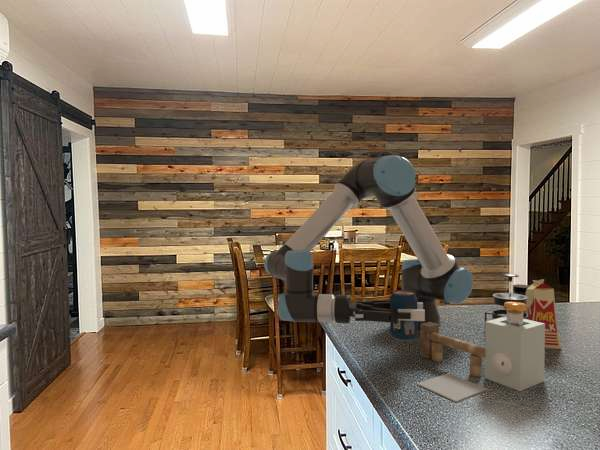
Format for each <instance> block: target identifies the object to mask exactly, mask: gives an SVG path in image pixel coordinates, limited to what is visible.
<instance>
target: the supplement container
mask: <svg viewBox="0 0 600 450" xmlns="http://www.w3.org/2000/svg"><path fill="white" fill-rule="evenodd" d="M530 286H531V285H528V284H519V283H518V284H513V285H512V293H514V294H521V295H526V290H527V288H529V287H530Z"/></svg>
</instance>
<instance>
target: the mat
mask: <svg viewBox="0 0 600 450" xmlns="http://www.w3.org/2000/svg"><path fill="white" fill-rule="evenodd" d="M416 384H417V386H420V387H421V388H424V389H426V390H428V391H431V392H433V393H435V394H438V395H440V396H442V397H443V398H445V399H448V400H450V401H453V402H454V403H458V402H461V401H464V400H466V399H469V398H471V397H473V396H476V395H478V394H481V393H484V392H486V391H488V388H486V387H483V386H482V385H479V384H476V383H474V382H472V381H470V380H469V381H468V380H467V379H464V378H460V377H458V376H456V375H453V374H451V373H449V372H447V373H444V374H442V375H439V376H436V377H432V378H429V379H426V380H422V381H419V382H417V383H416Z"/></svg>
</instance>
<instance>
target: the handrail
mask: <svg viewBox="0 0 600 450" xmlns="http://www.w3.org/2000/svg"><path fill="white" fill-rule="evenodd" d="M439 328H440V325H439V324H436V323H433V322H427V323H423V324H421V328H420V338H419V339H420V345H419V346H420V347H419V348H420V349H419V351H420V357H424V358H426V359H428V360H429V359H431V361H434V362H436V363H439V362H443V353H444V352H443V350H444V349H443V345H444V346H446V347H450V348H453V349H456V350H459V351H462V352H463V353H464V352H465V353H467V354H469V375H471V376H473V377H476V378H477V377H481V376H483V375H482V373H483V359H485V346H480V345H477V344H474V343H471V342H468V341H467V342H466V341H464V340H461V339H457V338H454V337H452V336H451V337H450V336H447V335H443V334H441V333H439V332H440V329H439Z"/></svg>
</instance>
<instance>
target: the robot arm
mask: <svg viewBox="0 0 600 450" xmlns="http://www.w3.org/2000/svg"><path fill="white" fill-rule="evenodd" d="M416 175H417V174H416V170H415V168H414V166H413V164H412V163H411V162H410V160H408V159H407V158H405V157H403V156H399V155H384V156H382V157H376V158H375V157H374V158H367V159H364V160H361V161H359V162H358V163H356V164H355V165H354V166H352V167H351V168H350V169H349V170H348V171H347V172H346V173H345V174H344V175H343V176H342V177H340V179H339V180H338V181H337V183H335V184H334V186H333V187H334V190H333V191H332V192H331V193H330V195H328V196H327V198H325V200H324V201H323V202H322V203H321V204H320V205H319V207H318V208H316V209H315V211H313V213H311V215H309V217H308V218H307V219H306V220H305V221H304V222H302V224H301V225H300V227H299V228H298V229H296V231H295V232H294V233H293V234H292V235H291V236H290V237H289V238H288V239H287V240H286V242H285V243H284V244H283V245H282V246H280V248H278V250H277V251H272V252H270V253H268V254H267V255H266V257H265V259H264V261H263V266H264V269H265V272H266V273H267V274H269V275H270V276H271V277H273V278H275V279H279V280H282V281H285V293H281V294H280V295H279V297H278V299H277V314H278V317H279V319H281V320H282V321H287V322H294V323H298V322H299V323H302V322H304V323H323V325H327V323H330V324H331V323H332V324H333V323H334V322H335V323H337V324H349V323H350V322H351V318H354V321H356V322H364V321H365V322H378V323H379V322H380V323H390V322H391V323H394V324H397V323H398V320H406V321H418V329H421V324H423V323H427V322H433V323H436V324H439V326H441V323H442V322H441V320H442V319H441V316H440V312H439V309H438V306H437V302H436V300H438V301H442V302H446V303H449V304H462V303H463V302H465V301H466V300H467V299H468V298H469V296H470V295H471V293H472V290H473V285H474V277H473V275H472V272H471V271H470V270H469V269H468V268H466V267H462V266H460V265H459V264H458V262H457V260H456V258H455V257H454V256H453V255H452V254H448V253H447V252H446V250H445V249H444V247H443V245H442V243H441V241H440V240H439V238H438V236H437V235H436V233H435V231H434V229H433V227H432V225H431V224H430V222H429V220H428V219H427V217H426V215H425V213H424V211H423V209H422V208H421V205H420V204H419V202H418V201H417V199H416V197H415V193H416V189H417V188H416V186H415V185H416V181H417V180H416V179H415V178H416ZM368 197H375V198H376V200H377V202H378V203H379V205H380V207H381V208H382V209H387V210H389V212H390V214H391V216H392V217H393V219H394V221H395V222H396V224H397V226H398V228H399V230H400V231H401V233H402V234H403V236H404V238H405V240H406V241H407V243H408V244H409V247H410V248H411V250H412V252H413V253H414V254H415V256H416V258H410V259H405V260H403V262H402V264H401V269H400V271H401V290H410V291H414V292H415V296H416V297H417V309H398V311H397V310H391V309H390V299H362V298H361V299H359V300H357V301H354V302H353V301H352V300H351V296H350V295H348V294H337V295H335V294H332V293H331V294H329V293H326V294H325V293H314V262H313V260H314V259H313V253H312V252H311V251H313V249H314V248H315V247H316V246H317V245H318V244H319V243H320V242H321V240H322V239H323V238H324V237H325V236H326V235H327V234H328V233H329V232H330V231H331V230H332V229H333V227H334V226H335V225H336V224H337V223H338V222H339V221H340V220H341V219H342V217H344V215H345V214H346V213H347V212H348V211H349V210H350V209H351V208H352V207H357V206H358V205H359V204H360V202H361V201H362V200H364V199H366V198H368Z"/></svg>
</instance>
